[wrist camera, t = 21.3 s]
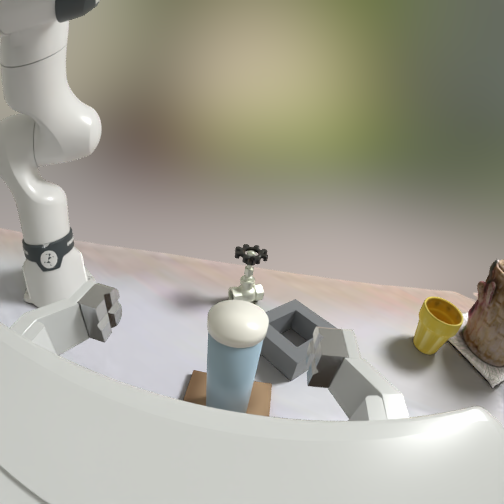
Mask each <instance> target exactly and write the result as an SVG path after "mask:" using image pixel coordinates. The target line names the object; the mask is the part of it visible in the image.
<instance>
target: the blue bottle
mask: <svg viewBox="0 0 504 504" xmlns="http://www.w3.org/2000/svg"><path fill="white" fill-rule="evenodd" d="M268 324H269V319H268V316H267V314H266V313H265V311H264V310H263V309H261V308H260V307H259V306H257V305H255V304H253V303H250V302H247V301H243V300H226V301H222V302H219V303H217V304H215V305H214V306H212V307H211V309H210V310H209V312H208V321H207V328H208V354H207V383H206V406H208V407H213V408H218V409H223V410H228V411H234V412H240V413H246V411H247V407H248V403H249V399H250V395H251V391H252V387H253V383H254V378H255V374H256V370H257V366H258V361H259V357H260V353H261V348H262V344H263V339H264V338H265V336H266V333H267V329H268Z"/></svg>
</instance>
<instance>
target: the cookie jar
mask: <svg viewBox="0 0 504 504" xmlns="http://www.w3.org/2000/svg"><path fill="white" fill-rule="evenodd" d="M477 289H478V300H477V301H476V302H475V304H474V305H473V306H472V308H471V309H470V310H469V312H468V313H465V314H462V315H463V324H462V325H461V327H460V329H459V330H458V332H457V333H456V335H455V336H453V337H451V338H449V339H448V341H449V342H450V343H452V344H453V345H454V346H455V347H456V348H457V349H458V350H459V351H460V352H461V353H462V354H463V355H464V356H465V357H466V358H467V359H468V360H469V361H470V362H471V364H472V365H473V366H474V367H475V368H476V369H477V370H478V371H479V372H480V373H481V374H482V375H483V376H484V377H485V379H486V380H487V381H488V382H489V383H490V385H491V386H492V388H494V386H495V385H497V384H500V382H502V381H504V260H501V261H499V260H496V261H495V262H493V264H492V265H491V267H490V271H489V276H488V277H487V279H486V282H484V281H480V282H479V283H478V285H477Z"/></svg>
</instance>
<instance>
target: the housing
mask: <svg viewBox="0 0 504 504" xmlns="http://www.w3.org/2000/svg"><path fill="white" fill-rule="evenodd" d="M265 313H266V314H267V316H268V319H269V324H268V329H267V333H266V336H265V338H264V339H263V344H262V348H261V354H262V355H263V356H264V357H265V358H266V359H267V360H268V361H269V362H270V363H271V364H272V365H274V366H275V367H276V368H277V369H278V370H279V371H280V372H281V373H282V374H284V375H285V376H286V377H287V378H288V379H289V380H290V381H292V380H293V379H295V378H297V377H298V376H299V375H301V374H302V373H304V372H305V371H307V370H308V369H309V367H308V366H307V363H306V357H307V350H308V347H309V344H310V342H311V341H312V340H313V333H314V330H315V328H316V326H317V327H325V328H335V329H337V328H336V327H334V326H333V325H331V324H330V323H329V322H327V321H326V320H324V319H323V318H321V317H320V316H319V315H317V314H316V313H314V312H313V311H311V310H310V309H309V308H307V307H306V306H304V305H303V304H301V303H300V302H299V301H297V300H296V299H295V300H293V301H290V302H288V303H286V304H284V305H281V306H279V307H277V308H275V309H272V310H270V311H268V312H265ZM290 328H292V329H293V330H294V331H296V332H297V333H298V334H299V335H301V336H302V337H303V338H305V339H306V340H307V341H306V342H305V343H303V344H302V345H300V346H298V347H296V346H295V345H294V344H293V343H292V342H290V341H289V340H288V339H287V338H285V337H284V336H283V335H282V334H281V333H282V332H284V331H286V330H288V329H290Z"/></svg>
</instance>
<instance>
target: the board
mask: <svg viewBox="0 0 504 504" xmlns="http://www.w3.org/2000/svg"><path fill="white" fill-rule="evenodd" d="M206 383H207V373H205V372H200V371H196V370H193V373H192V376H191V379H190V382H189V385H188V388H187V391H186V394H185V396H184V399H183V401H186V402H190V403H194V404H199V405H203V406H206ZM271 387H272V384H270V383H263V382H256V381H254V383H253V387H252V391H251V395H250V399H249V403H248V407H247V411H246V414H253V415H261V416H269V412H270V400H271Z"/></svg>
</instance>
